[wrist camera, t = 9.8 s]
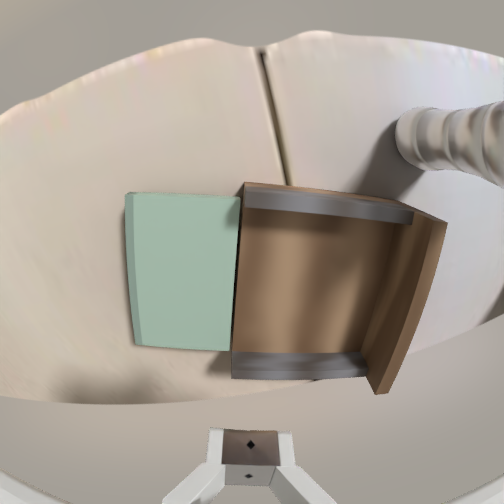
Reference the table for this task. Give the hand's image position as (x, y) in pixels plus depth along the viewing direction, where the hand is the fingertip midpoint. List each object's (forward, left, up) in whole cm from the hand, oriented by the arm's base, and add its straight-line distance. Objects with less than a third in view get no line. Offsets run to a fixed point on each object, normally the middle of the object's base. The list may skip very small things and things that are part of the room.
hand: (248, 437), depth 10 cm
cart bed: (-8, +2, -21) cm, 23 cm away
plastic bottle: (-17, -14, -22) cm, 31 cm away
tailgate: (0, +2, -18) cm, 19 cm away
